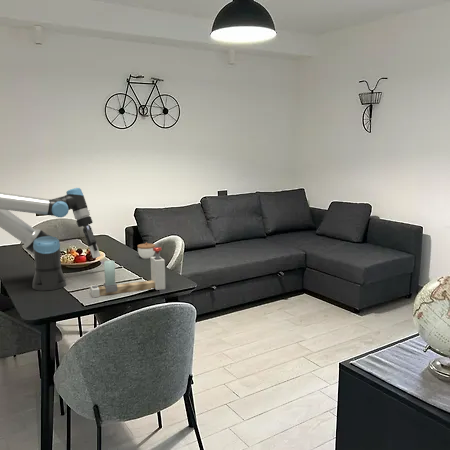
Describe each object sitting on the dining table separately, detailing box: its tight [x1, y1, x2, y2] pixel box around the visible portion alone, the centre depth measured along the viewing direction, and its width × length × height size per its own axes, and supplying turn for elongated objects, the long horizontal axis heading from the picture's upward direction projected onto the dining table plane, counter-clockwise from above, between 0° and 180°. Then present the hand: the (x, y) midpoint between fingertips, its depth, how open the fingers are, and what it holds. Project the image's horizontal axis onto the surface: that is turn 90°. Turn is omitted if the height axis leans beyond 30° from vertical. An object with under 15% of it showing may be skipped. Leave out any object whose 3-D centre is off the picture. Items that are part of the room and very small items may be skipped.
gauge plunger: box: [153, 246, 162, 260], centre depth 218 cm, size 4×4×11 cm
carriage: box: [103, 260, 118, 293], centre depth 210 cm, size 5×6×13 cm
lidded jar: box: [137, 241, 156, 260], centre depth 279 cm, size 11×11×9 cm
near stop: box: [89, 284, 100, 299], centre depth 208 cm, size 3×7×4 cm, turn 24°
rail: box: [98, 279, 155, 296], centre depth 214 cm, size 26×4×3 cm, turn 114°
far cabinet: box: [150, 256, 166, 291], centre depth 219 cm, size 4×9×14 cm, turn 24°
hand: (96, 257), depth 236 cm, fingers open, 13 cm apart
